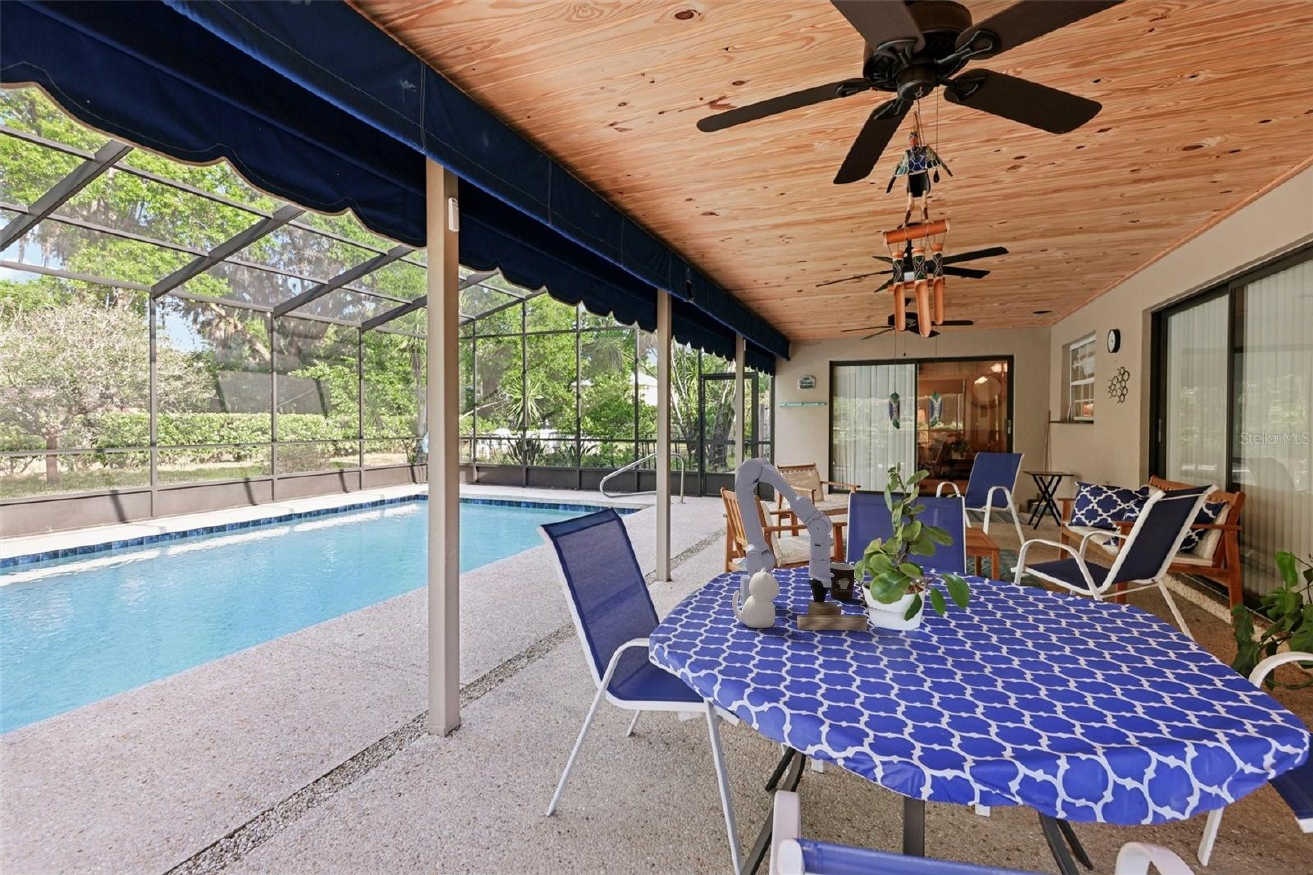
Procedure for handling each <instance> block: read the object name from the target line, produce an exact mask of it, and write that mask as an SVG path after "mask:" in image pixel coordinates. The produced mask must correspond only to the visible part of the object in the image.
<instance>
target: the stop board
mask: <svg viewBox="0 0 1313 875" xmlns="http://www.w3.org/2000/svg"><path fill="white" fill-rule="evenodd" d="M796 617H797V618H796V624H797V625H796V627H797V629H799V631H821V630H822V631H867V630H868V618H867V617H866V615H841V616H808V615H800V614H799V615H797V616H796Z"/></svg>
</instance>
